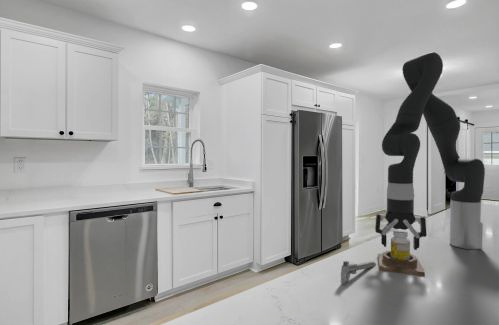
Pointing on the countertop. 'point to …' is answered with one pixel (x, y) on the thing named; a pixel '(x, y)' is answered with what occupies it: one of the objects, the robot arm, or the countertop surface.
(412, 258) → the bottle holder
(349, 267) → the caliper
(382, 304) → the countertop surface
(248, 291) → the countertop surface
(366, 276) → the countertop surface
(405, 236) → the supplement bottle
